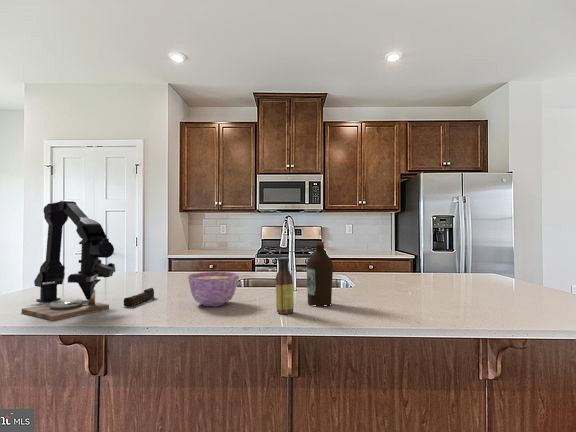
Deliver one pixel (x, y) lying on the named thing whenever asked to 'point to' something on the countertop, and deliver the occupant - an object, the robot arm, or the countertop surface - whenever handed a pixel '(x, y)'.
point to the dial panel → (63, 311)
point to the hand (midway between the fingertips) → (88, 299)
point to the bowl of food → (213, 287)
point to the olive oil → (319, 277)
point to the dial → (71, 303)
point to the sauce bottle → (284, 287)
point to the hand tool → (139, 297)
